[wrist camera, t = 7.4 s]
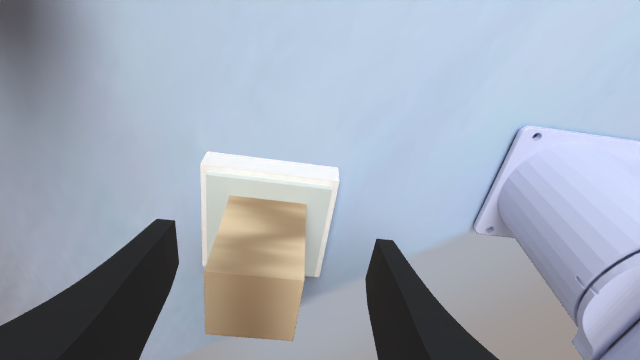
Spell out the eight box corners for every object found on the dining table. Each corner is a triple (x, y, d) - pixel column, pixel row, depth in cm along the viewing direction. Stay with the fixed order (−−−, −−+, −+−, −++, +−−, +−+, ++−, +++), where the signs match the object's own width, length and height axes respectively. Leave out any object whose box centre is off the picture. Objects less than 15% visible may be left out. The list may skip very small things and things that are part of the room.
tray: (337, 167, 23) (339, 184, 21) (318, 260, 27) (319, 281, 25) (207, 151, 22) (198, 167, 21) (208, 249, 26) (201, 270, 25)
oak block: (306, 204, 22) (304, 280, 17) (297, 259, 24) (293, 341, 19) (229, 195, 22) (203, 271, 16) (228, 252, 24) (205, 334, 19)
